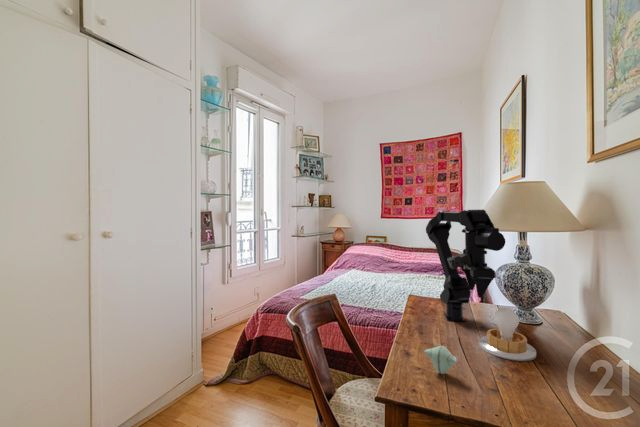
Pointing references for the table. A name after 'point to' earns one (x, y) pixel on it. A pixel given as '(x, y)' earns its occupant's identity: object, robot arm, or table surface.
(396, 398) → the table surface
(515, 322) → the lightbulb
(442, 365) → the robot head
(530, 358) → the wooden ring on plate
